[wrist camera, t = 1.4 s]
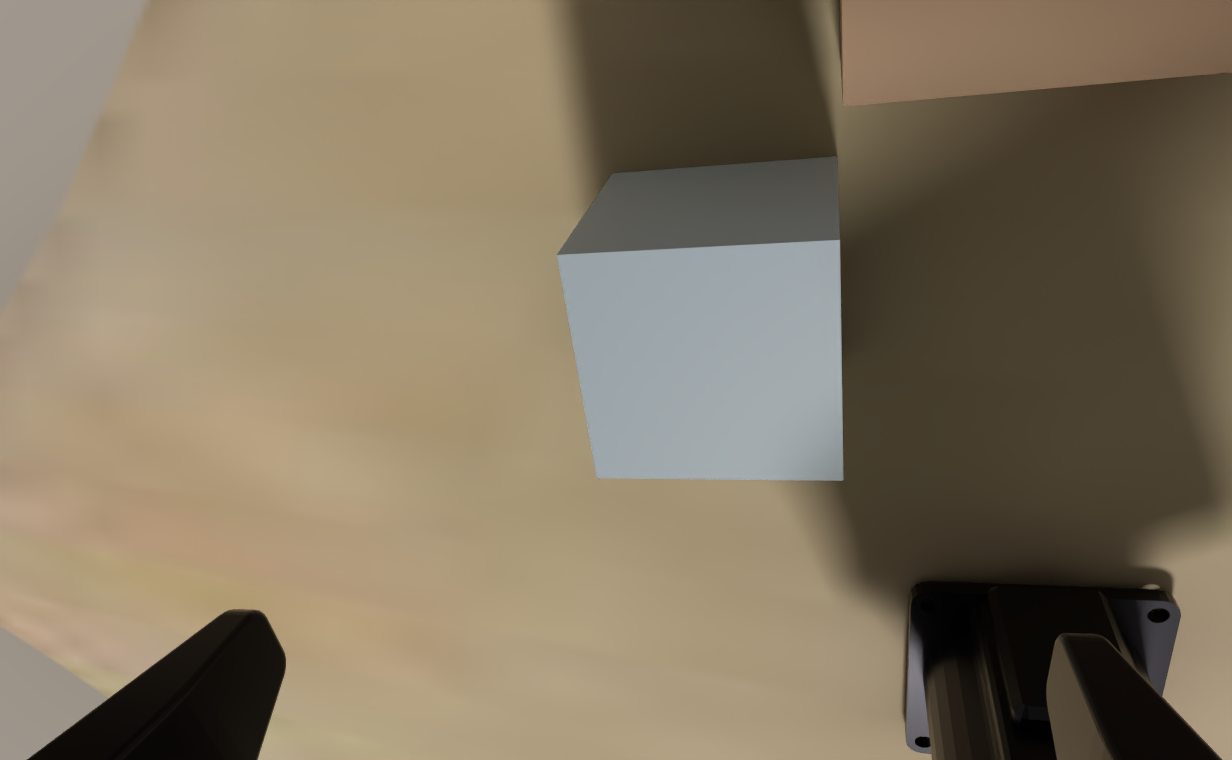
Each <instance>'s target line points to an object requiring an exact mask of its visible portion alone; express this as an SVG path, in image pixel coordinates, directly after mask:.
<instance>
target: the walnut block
mask: <svg viewBox="0 0 1232 760" xmlns="http://www.w3.org/2000/svg"><path fill="white" fill-rule="evenodd" d="M840 34H841V76H842V96H843V107H845V106H856V105H868V104H879V103H890V102H902V101H913V100H924V99H936V98H947V97H958V96H970V95H981V94H992V93H1004V92H1015V91H1027V90H1038V89H1049V88H1061V87H1072V86H1083V85H1095V84H1106V83H1117V82H1129V81H1140V80H1151V79H1163V78H1174V77H1186V76H1197V75H1208V74H1220V73H1231V72H1232V0H840Z"/></svg>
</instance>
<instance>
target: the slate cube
mask: <svg viewBox="0 0 1232 760" xmlns="http://www.w3.org/2000/svg"><path fill="white" fill-rule="evenodd" d="M557 259H558V264H559V270H560V275H561V281H562V287H563V292H564V298H565V303H566V309H567V314H568V320H569V326H570V331H571V337H572V342H573V348H574V354H575V359H576V365H577V370H578V376H579V382H580V387H581V393H582V398H583V404H584V409H585V415H586V421H587V426H588V432H589V437H590V443H591V449H592V454H593V460H594V465H595V471H596V476H597V478H634V479H726V480H817V481H843V419H842V348H841V277H840V224H839V190H838V157H837V156H835V157H822V158H808V159H795V160H782V161H768V162H755V163H742V164H729V165H715V166H702V167H689V168H676V169H662V170H649V171H636V172H623V173H612V175H611V176H610V178H609V179H608V181H607V182H606V183H605V185H604V186H603V188H602V189H601V191H600V192H599V194H598V195H597V197H596V198H595V200H594V201H593V203H592V204H591V205H590V207H589V208H588V210H587V211H586V213H585V214H584V216H583V217H582V219H581V220H580V222H579V223H578V225H577V226H576V228H575V229H574V230H573V232H572V233H571V235H570V236H569V238H568V239H567V241H566V242H565V244H564V245H563V247H562V248H561V250H560V251H559V252H558V254H557Z"/></svg>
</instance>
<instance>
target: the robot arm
mask: <svg viewBox="0 0 1232 760" xmlns="http://www.w3.org/2000/svg"><path fill="white" fill-rule="evenodd" d="M930 598H931V599H935V601H934V602H925V601H923V600H925V599H930ZM1157 608H1162V609H1161V610H1159V611H1155V612H1151V610H1153V609H1157ZM1180 617H1181V614H1180V609H1179V607H1178V605H1177V603H1176V601H1175V599H1174V598H1173V596H1172V595H1171V594H1169V593H1167V592H1165V591H1161V590H1148V589H1121V588H1094V587H1067V586H1041V585H1014V584H987V583H960V582H933V581H928V582H921V583H919V584H917V585H915V586H914V587H913V588H912V589H911V592H910V599H909V629H908V659H907V690H906V720H905V733H906V742H907V745H908V746H909V747H910V748H911V749H912V750H914V751H916V752H920V753H927V754H932V760H1222V759H1221V758H1220V757H1219V756H1218V755H1217V754H1216V753H1215V752H1214V750H1213V749H1212V748H1211V747H1210V746H1209V745H1208V744H1207V743H1206V742H1205V741H1204V740H1203V739H1202V738H1201V737H1200V736H1199V735H1198V734H1197V733H1196V732H1195V731H1194V730H1193V729H1192V727H1191V726H1190V725H1189V724H1188V723H1187V722H1186V721H1185V720H1184V719H1183V718H1182V717H1181V716H1180V715H1179V714H1178V713H1177V712H1176V711H1175V710H1174V709H1173V708H1172V707H1171V705H1170V704H1169V703H1168V702H1167V701H1166V700H1165V699H1164V698H1163V697H1162V694H1163V690H1164V686H1165V682H1166V677H1167V673H1168V669H1169V665H1170V660H1171V656H1172V652H1173V647H1174V643H1175V639H1176V635H1177V630H1178V626H1179V622H1180ZM285 669H286V657H285V653H284V650H283V648H282V646H281V644H280V642H279V640H278V639H277V637H276V635H275V633H274V631H273V629H272V627H271V625H270V623H269V621H268V619H267V617H266V616H265V614H263V613H262V612H261V611H258V610H243V609H233V610H228V611H226V612H224V613H223V614H221V615H219V616H218V617H217V618H215V619H214V620H213V621H211V622H210V623H209V624H207V625H206V626H205V627H203V628H202V629H201V630H199V631H198V632H197V633H195V634H194V635H193V636H191V637H190V638H189V639H187V640H186V641H185V642H183V643H182V644H181V645H179V646H178V647H177V648H175V649H174V650H173V651H171V652H170V653H169V654H167V655H166V656H165V657H163V658H162V659H161V660H159V661H158V662H157V663H155V664H154V665H153V666H151V667H150V668H149V669H147V670H146V671H145V672H143V673H142V674H141V675H139V676H138V677H137V678H135V679H134V680H133V681H131V682H130V683H129V684H127V685H126V686H125V687H123V688H122V689H121V690H119V691H118V692H117V693H115V694H114V695H113V696H111V697H110V698H109V699H107V700H106V701H105V702H103V703H102V704H101V705H99V706H98V707H97V708H95V709H94V710H93V711H91V712H90V713H89V714H87V715H86V716H85V717H83V718H82V719H81V720H79V721H78V722H77V723H75V724H74V725H73V726H71V727H70V728H69V729H67V730H66V731H65V732H63V733H62V734H61V735H59V736H58V737H57V738H55V739H54V740H53V741H51V742H50V743H49V744H47V745H46V746H45V747H44V748H42V749H41V750H39V751H38V752H37V753H35V754H34V755H33V756H31V757H30V758H29V759H27V760H257V759H258V756H259V753H260V750H261V747H262V744H263V741H264V737H265V734H266V731H267V728H268V725H269V722H270V719H271V715H272V712H273V709H274V706H275V703H276V700H277V696H278V693H279V690H280V687H281V684H282V681H283V678H284V674H285ZM922 736H925V737H922Z"/></svg>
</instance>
